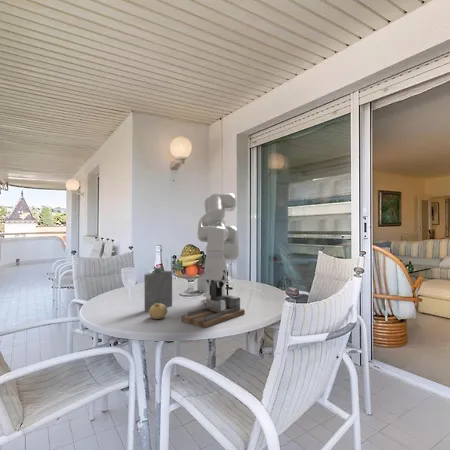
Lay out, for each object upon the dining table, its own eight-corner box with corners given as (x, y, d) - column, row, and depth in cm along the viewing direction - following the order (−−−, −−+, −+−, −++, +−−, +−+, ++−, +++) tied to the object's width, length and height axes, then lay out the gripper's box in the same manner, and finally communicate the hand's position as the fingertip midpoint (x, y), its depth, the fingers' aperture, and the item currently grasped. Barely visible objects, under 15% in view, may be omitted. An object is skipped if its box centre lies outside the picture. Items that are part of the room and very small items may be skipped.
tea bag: (203, 292, 193) (203, 275, 193) (197, 290, 198) (197, 274, 198) (208, 291, 195) (208, 275, 195) (202, 289, 200) (202, 273, 200)
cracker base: (181, 320, 137) (181, 303, 137) (221, 308, 157) (221, 293, 157) (204, 328, 128) (204, 309, 128) (244, 313, 148) (244, 297, 148)
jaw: (206, 309, 145) (206, 281, 145) (211, 307, 147) (211, 280, 147) (220, 312, 139) (220, 283, 139) (225, 311, 141) (225, 282, 141)
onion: (147, 316, 143) (147, 301, 143) (164, 314, 147) (164, 299, 147) (150, 321, 136) (150, 305, 136) (169, 319, 139) (169, 303, 139)
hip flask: (147, 312, 150) (147, 269, 150) (142, 310, 153) (142, 269, 153) (173, 305, 162) (173, 266, 162) (168, 304, 165) (168, 265, 165)
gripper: (196, 253, 145) (196, 294, 146) (224, 256, 135) (224, 300, 135) (208, 252, 151) (208, 291, 151) (235, 254, 140) (235, 296, 141)
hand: (215, 295), depth 143 cm, fingers closed on jaw, 3 cm apart
